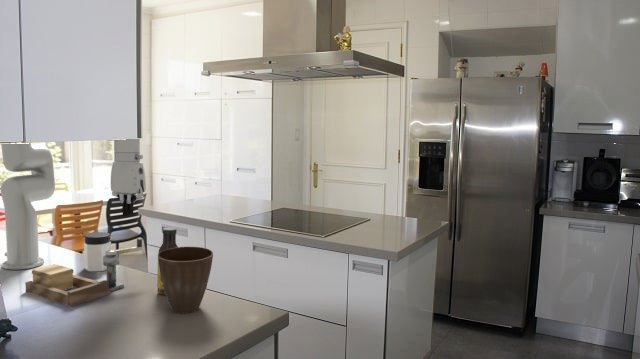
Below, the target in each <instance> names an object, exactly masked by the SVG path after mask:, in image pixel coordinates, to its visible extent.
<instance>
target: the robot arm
mask: <svg viewBox="0 0 640 359" xmlns="http://www.w3.org/2000/svg"><path fill="white" fill-rule="evenodd" d="M140 140H141V138H140V139H126V140H108V141H109V142H110V141H112V142H113V155H114V156H113V157H114V158H113V159H114V161H112V164H111V165H112V166H111V170H110V191H111V195H112V196H113V197H115V198H117V199H119V202H120V203H121V204H122V207H121V210H122V216H123V217H124V216H125V217H129V216H132V215H134V203H135V202H136V201H137V199H141V198H144V193H145V192H146V189H147V184H146V174H145V173H146V172H145V168H144V167H145V166H144V163H143V162H142V161H141V160H143V159H144V156H143V155H142V154H141V142H140ZM108 141H107V142H108ZM1 155H2V163H3V165H4V168H5V169H6V170H7V171H9V172H11V173H12V172H13V173H20V172H21V173H22V172H30V173H31V174H24V175H15V176H12V177H11V176H10V177H8V178H6V179H5V180H3V181H2V183H1V185H0V195H1V199H2V203H3V208H4V216H5V217H4V218H5V220H4V221H5V235H6V236H5V237H6V238H5V239H6V252H5V253H4V257H6V261H3V263H2V264H1V266H2V268H3V269H5V270H10V271H12V270H13V271H15V270H19V271H20V270H28V269H33V268H38V267H39V266H42V265H43V264H44V263H45V260H44V258H42V257H40V255H39V232H38V231H39V229H38V228H39V227H38V225H39V224H38V214H37V211H36V209H35V208H34V206H33V205H32V202H37V201H44V200H47V199H49V198H51V197H52V196H53V195H54V193H55V188H56V181H55V170H54V160H53V155H52V153H51V151H50V149H49V148H48V147H47V146H46V145H44V144H41V143H31V142H30V143H29V144H1Z"/></svg>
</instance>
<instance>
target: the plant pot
mask: <svg viewBox="0 0 640 359" xmlns="http://www.w3.org/2000/svg"><path fill="white" fill-rule="evenodd" d="M213 258H214V252H213V250H211V249H209V248H205V247H200V246H178V247H176V248H170V249H166V250H163V251H161V252H159V251H158V253H157V262H158V261H159V268H160V273H161V278H162V282H163V286H164V289H165V293H166V295H165V296H166V298H167V300H168V301H167V302H168V303H169V306H170V309H171V311H172V312H175V313H177V314H191V313H194V312H196V311H198V310H199V308H200V307H201V304H202V301H203V298H204V296H205V292H206V289H207V286H208V283H209V278H210V274H211V270H212V265H213Z"/></svg>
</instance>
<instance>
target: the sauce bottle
mask: <svg viewBox="0 0 640 359" xmlns="http://www.w3.org/2000/svg"><path fill="white" fill-rule="evenodd" d="M176 238H177V228H175V227H164V228H162V243H161V246H160V247H159V248H158V253H159V252H161V251H163V250H166V249H170V248H176V247H179V246H178V244H177V240H176ZM156 274H157V276H156V278H157V280H156V281H157V282H156V287H157V291H156V292H157V293H158V294H160V295H165V296H166V293H165V289H164V286H163V282H162V278H161V273H160V268H159V261H158V260H157V272H156Z"/></svg>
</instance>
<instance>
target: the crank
mask: <svg viewBox="0 0 640 359" xmlns="http://www.w3.org/2000/svg"><path fill="white" fill-rule="evenodd" d="M140 251H143V238H136V246H132V247H125V248H120V249H111V250H107V251H105V256H106V257H114V256H116V255H124V254H129V253H135V252H140Z"/></svg>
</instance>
